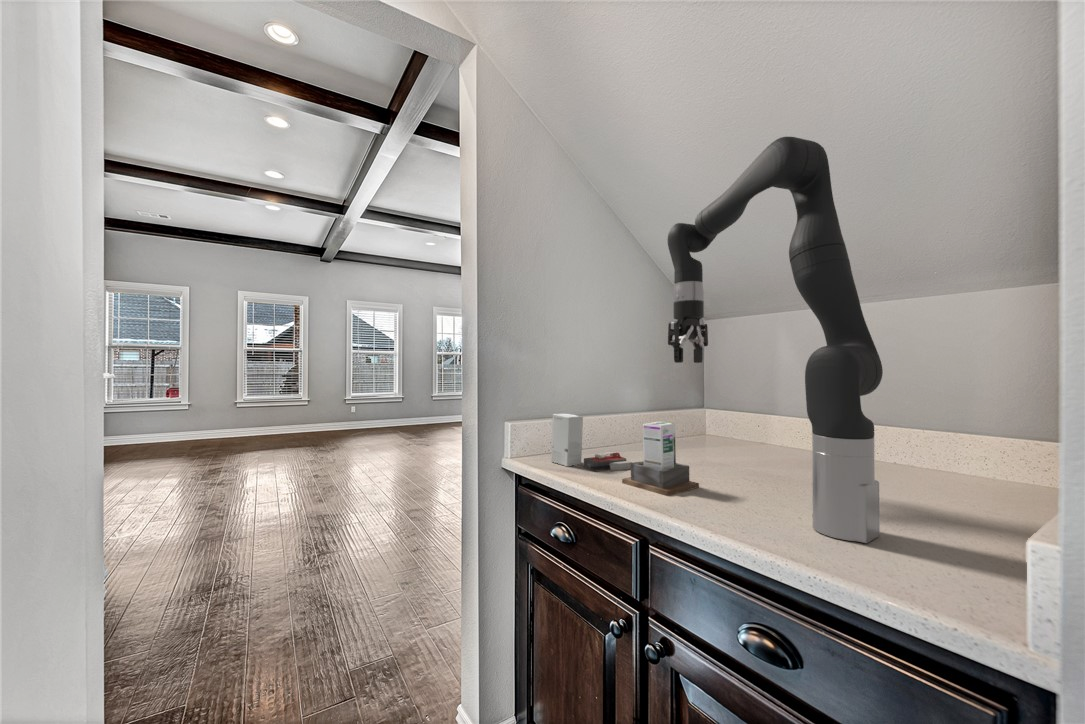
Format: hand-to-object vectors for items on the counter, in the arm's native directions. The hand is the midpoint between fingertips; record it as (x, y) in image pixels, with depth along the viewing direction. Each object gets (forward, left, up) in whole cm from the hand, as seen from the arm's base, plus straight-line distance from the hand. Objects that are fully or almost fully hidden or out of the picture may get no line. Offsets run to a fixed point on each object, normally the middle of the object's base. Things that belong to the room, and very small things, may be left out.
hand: (688, 362), depth 118 cm
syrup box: (+1, +11, -30) cm, 32 cm away
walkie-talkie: (+22, +5, -31) cm, 38 cm away
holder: (+1, +11, -30) cm, 32 cm away
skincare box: (+34, +14, -31) cm, 48 cm away
